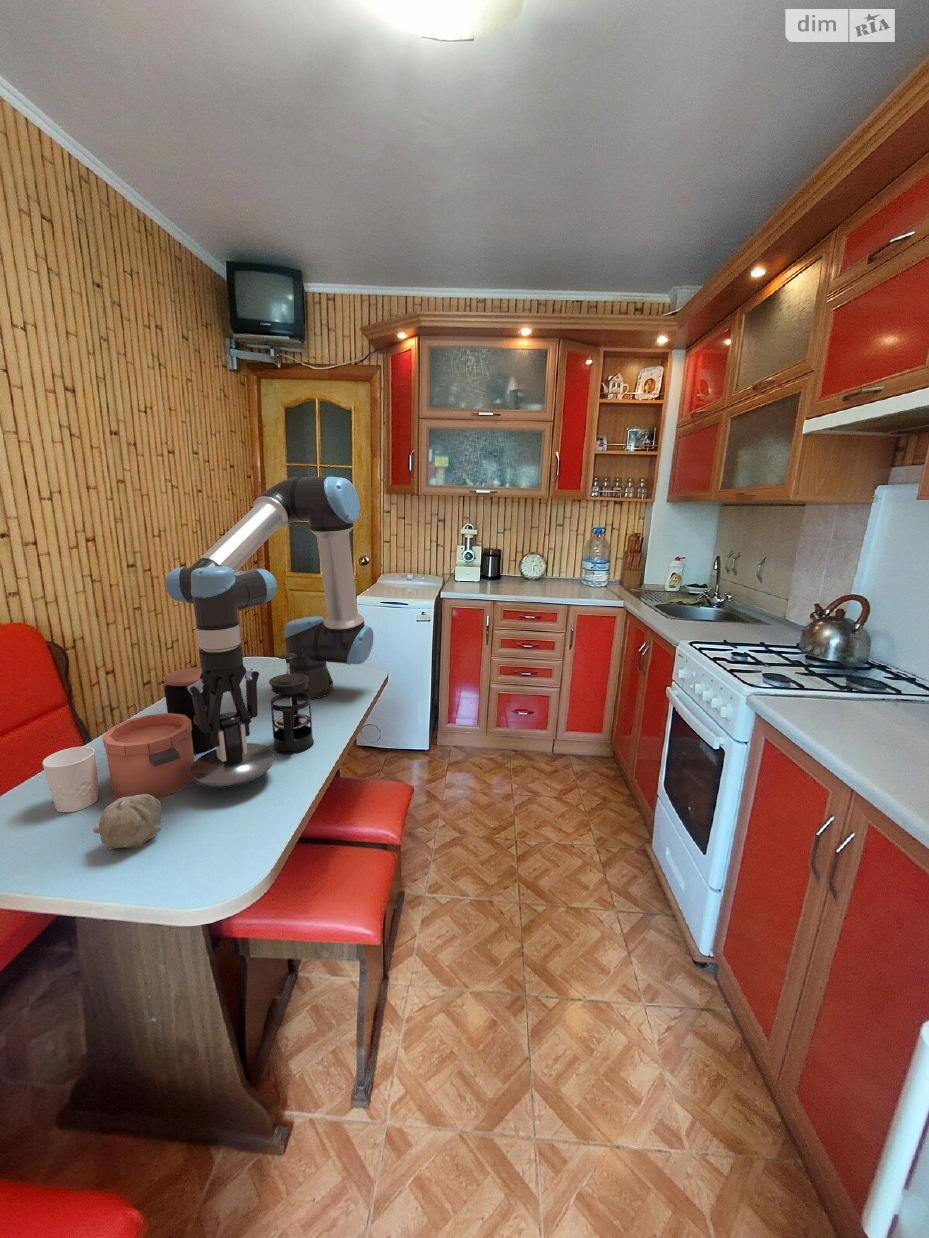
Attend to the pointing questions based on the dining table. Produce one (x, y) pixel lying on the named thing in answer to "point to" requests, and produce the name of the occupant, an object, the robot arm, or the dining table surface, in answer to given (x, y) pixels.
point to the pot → (150, 755)
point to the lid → (232, 758)
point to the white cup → (72, 778)
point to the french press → (291, 712)
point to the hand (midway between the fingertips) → (232, 754)
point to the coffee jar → (187, 703)
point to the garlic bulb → (130, 821)
